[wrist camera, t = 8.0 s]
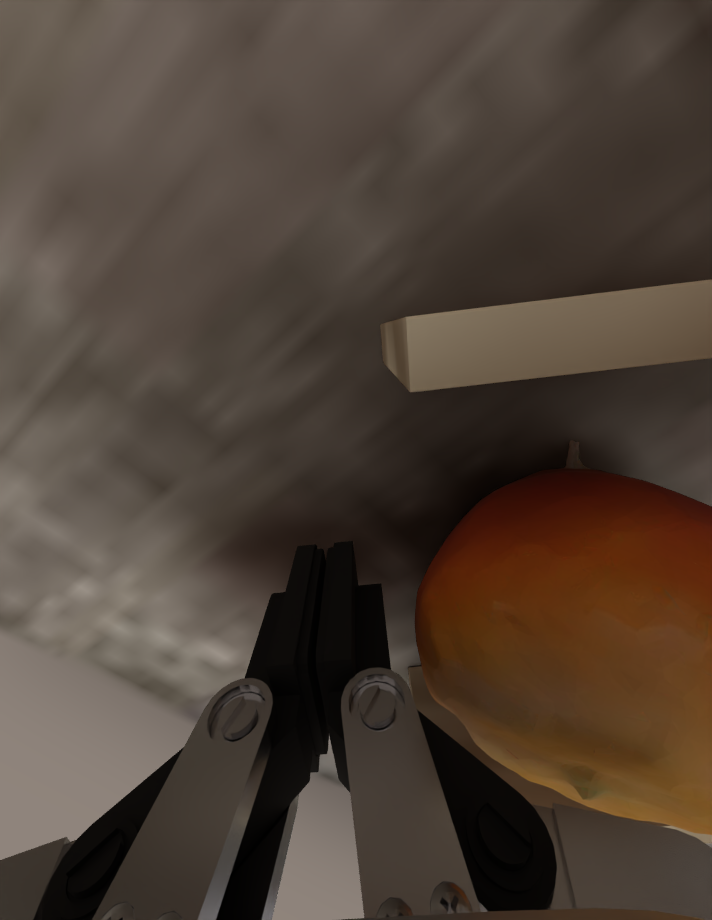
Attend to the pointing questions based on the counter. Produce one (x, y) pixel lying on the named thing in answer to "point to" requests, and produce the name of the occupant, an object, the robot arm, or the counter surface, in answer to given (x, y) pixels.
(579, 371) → the box
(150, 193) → the counter surface
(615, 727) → the fruit
